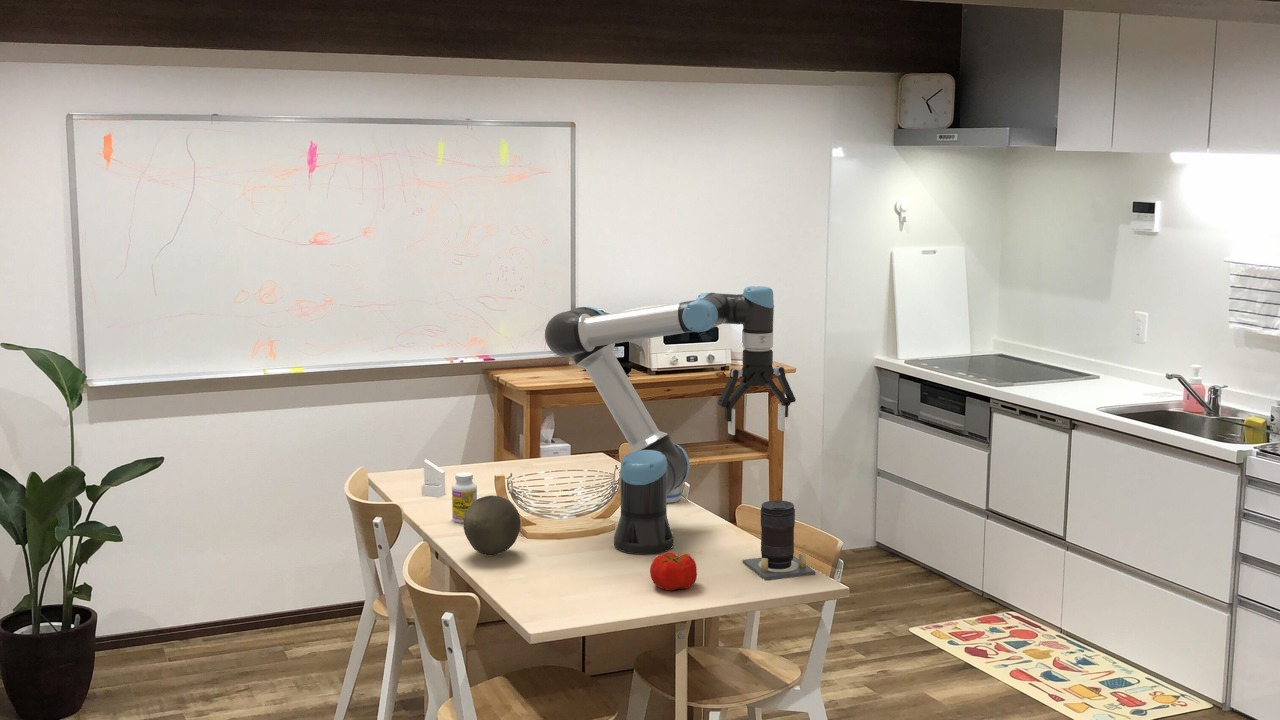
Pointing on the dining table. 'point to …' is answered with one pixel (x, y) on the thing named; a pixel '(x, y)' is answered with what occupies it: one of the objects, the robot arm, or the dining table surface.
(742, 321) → the robot arm
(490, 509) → the matte black sphere
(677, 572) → the tomato
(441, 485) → the white wedge bracket
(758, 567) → the mount
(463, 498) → the supplement bottle
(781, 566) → the camera lens
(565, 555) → the dining table surface
